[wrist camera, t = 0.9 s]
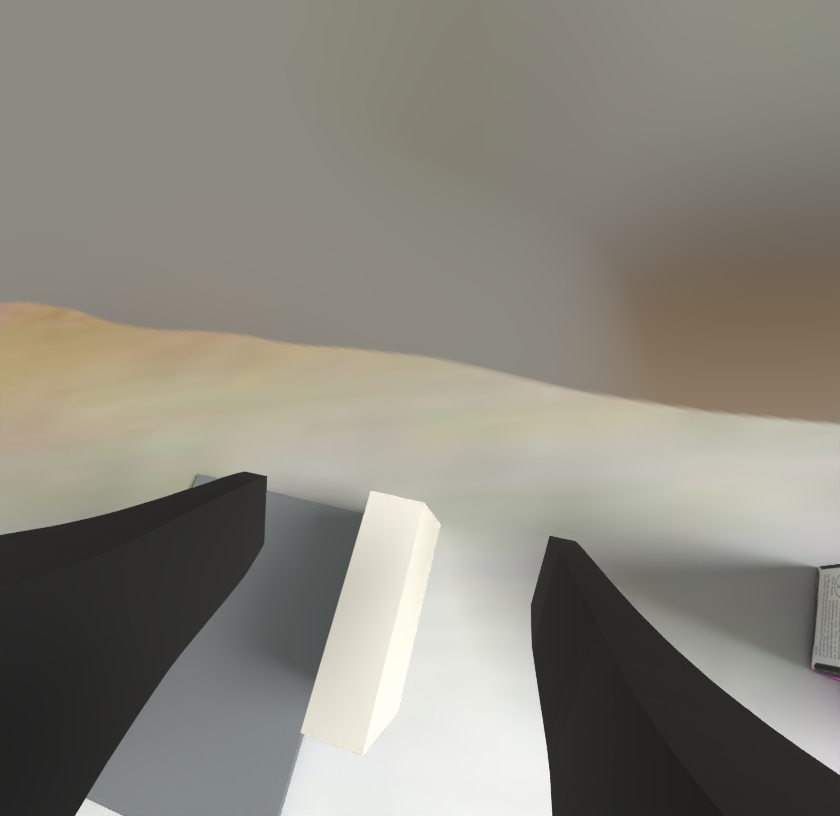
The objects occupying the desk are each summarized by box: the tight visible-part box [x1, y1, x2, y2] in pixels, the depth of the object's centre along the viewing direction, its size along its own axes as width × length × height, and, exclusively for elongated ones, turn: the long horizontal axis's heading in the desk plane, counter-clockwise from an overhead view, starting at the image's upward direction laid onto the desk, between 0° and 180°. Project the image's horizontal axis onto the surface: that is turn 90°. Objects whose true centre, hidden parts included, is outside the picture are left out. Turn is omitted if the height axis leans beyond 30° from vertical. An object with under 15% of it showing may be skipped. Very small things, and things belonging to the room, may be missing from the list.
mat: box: [86, 474, 364, 816], centre depth 23 cm, size 16×11×1 cm
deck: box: [300, 491, 441, 756], centre depth 20 cm, size 9×2×6 cm, turn 166°
